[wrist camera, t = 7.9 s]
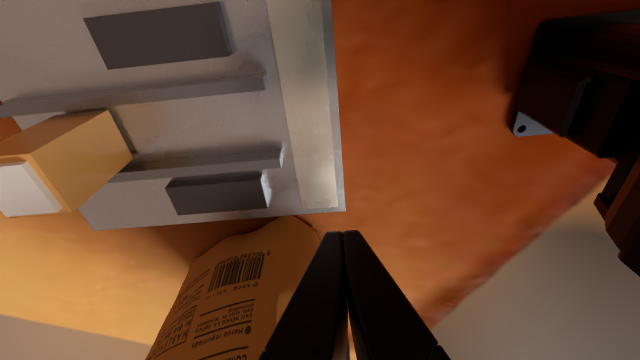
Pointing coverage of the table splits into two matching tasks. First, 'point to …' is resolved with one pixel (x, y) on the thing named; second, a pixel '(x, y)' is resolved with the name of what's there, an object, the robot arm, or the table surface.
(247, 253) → the coffee package
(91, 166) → the block
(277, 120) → the panel
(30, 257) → the table surface
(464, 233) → the table surface
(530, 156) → the table surface
